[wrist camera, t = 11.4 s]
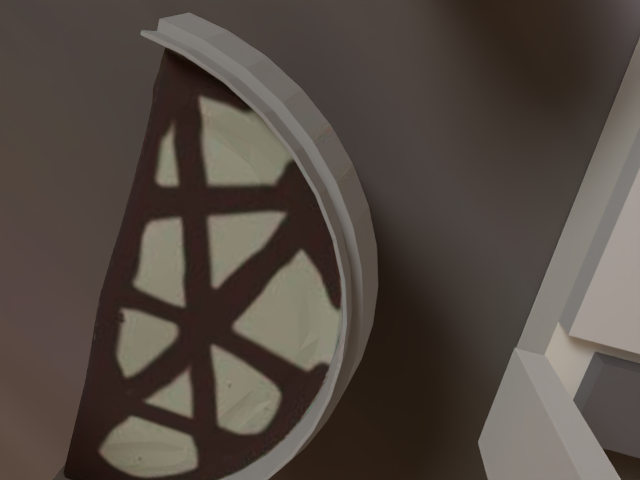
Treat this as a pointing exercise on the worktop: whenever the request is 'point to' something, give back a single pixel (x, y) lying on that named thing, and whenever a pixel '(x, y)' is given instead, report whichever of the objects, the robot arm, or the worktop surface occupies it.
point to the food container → (226, 276)
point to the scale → (599, 284)
